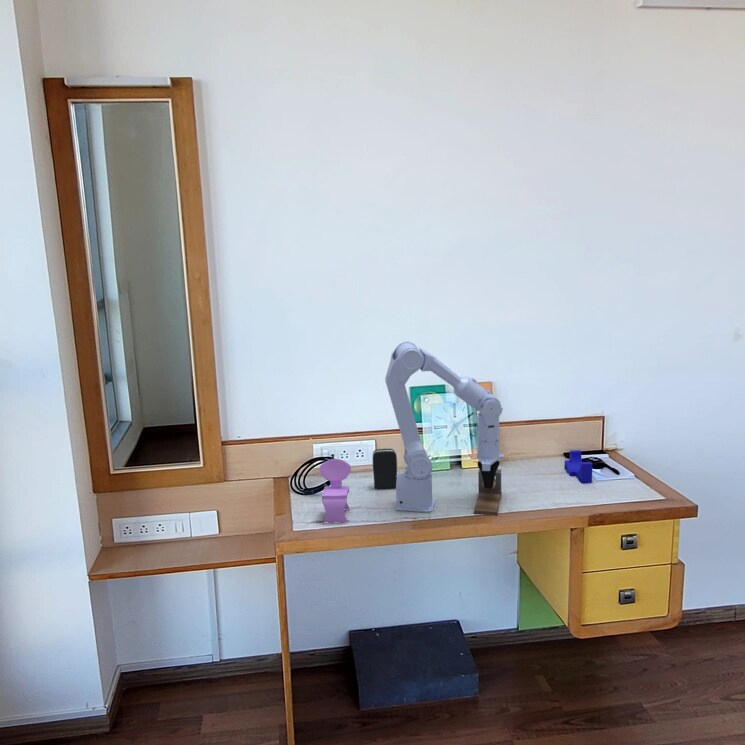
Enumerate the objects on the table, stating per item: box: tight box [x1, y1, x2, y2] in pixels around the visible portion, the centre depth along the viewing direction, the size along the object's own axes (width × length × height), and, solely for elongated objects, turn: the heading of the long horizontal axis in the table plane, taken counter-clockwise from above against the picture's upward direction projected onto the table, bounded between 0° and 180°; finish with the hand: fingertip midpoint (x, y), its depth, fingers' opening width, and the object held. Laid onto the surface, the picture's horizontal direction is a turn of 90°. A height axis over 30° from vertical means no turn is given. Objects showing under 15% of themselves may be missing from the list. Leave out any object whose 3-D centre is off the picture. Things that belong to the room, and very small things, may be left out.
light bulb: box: [482, 478, 496, 491], centre depth 193 cm, size 10×4×4 cm, turn 166°
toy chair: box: [318, 458, 352, 523], centre depth 182 cm, size 8×9×15 cm
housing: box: [477, 468, 502, 495], centre depth 193 cm, size 3×6×6 cm, turn 76°
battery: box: [372, 448, 398, 490], centre depth 201 cm, size 7×4×11 cm, turn 93°
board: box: [473, 492, 502, 516], centre depth 188 cm, size 15×6×1 cm, turn 166°
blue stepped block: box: [563, 449, 593, 485], centre depth 204 cm, size 12×4×6 cm, turn 0°
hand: (488, 487), depth 189 cm, fingers closed, pressing on light bulb
